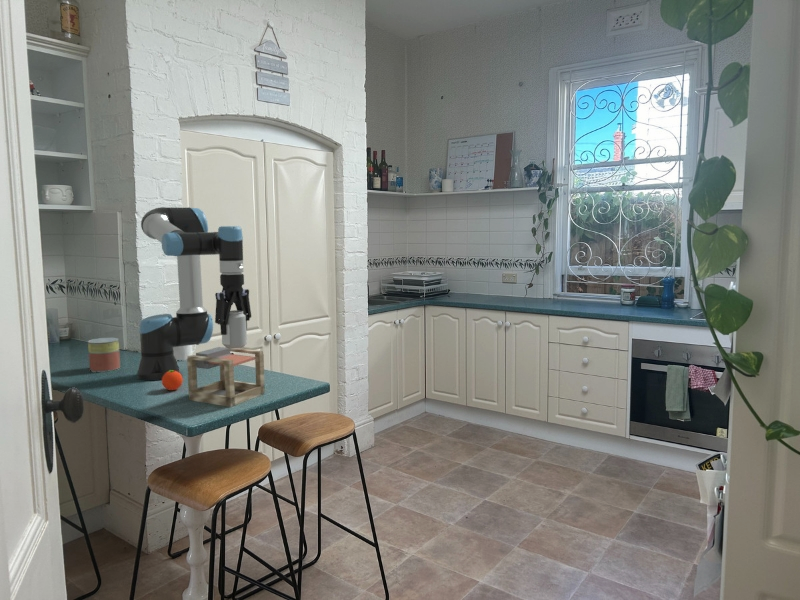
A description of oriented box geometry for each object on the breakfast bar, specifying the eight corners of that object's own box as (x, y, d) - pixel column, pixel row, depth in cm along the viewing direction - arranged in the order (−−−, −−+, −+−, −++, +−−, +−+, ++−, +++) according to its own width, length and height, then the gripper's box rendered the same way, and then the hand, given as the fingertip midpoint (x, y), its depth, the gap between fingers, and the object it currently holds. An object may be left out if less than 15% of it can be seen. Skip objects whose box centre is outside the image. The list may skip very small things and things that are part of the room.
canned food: (126, 367, 242) (124, 338, 241) (101, 373, 232) (99, 343, 231) (108, 364, 248) (106, 336, 246) (83, 370, 238) (81, 341, 236)
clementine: (159, 388, 211) (158, 369, 210) (179, 385, 215) (178, 366, 214) (165, 393, 205) (164, 373, 204) (185, 390, 209) (184, 370, 208)
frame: (189, 399, 197) (186, 355, 195) (224, 387, 212) (223, 346, 210) (230, 407, 189) (228, 361, 187) (264, 393, 204) (263, 351, 203)
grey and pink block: (194, 368, 197) (193, 353, 196) (221, 360, 209) (221, 346, 208) (231, 373, 190) (230, 358, 189) (257, 364, 202) (257, 350, 201)
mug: (177, 362, 252) (176, 340, 251) (166, 359, 258) (165, 338, 257) (202, 357, 261) (201, 336, 260) (192, 354, 267) (191, 334, 266)
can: (247, 348, 194) (245, 312, 193) (223, 349, 192) (221, 313, 190) (246, 344, 201) (244, 309, 200) (223, 345, 199) (221, 310, 198)
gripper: (218, 276, 183) (221, 348, 186) (261, 271, 201) (263, 337, 204) (200, 275, 186) (203, 346, 189) (243, 271, 204) (246, 336, 207)
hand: (234, 341), depth 196 cm, fingers closed on can, 7 cm apart
